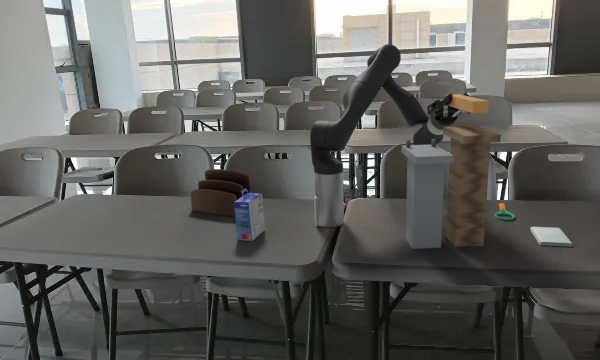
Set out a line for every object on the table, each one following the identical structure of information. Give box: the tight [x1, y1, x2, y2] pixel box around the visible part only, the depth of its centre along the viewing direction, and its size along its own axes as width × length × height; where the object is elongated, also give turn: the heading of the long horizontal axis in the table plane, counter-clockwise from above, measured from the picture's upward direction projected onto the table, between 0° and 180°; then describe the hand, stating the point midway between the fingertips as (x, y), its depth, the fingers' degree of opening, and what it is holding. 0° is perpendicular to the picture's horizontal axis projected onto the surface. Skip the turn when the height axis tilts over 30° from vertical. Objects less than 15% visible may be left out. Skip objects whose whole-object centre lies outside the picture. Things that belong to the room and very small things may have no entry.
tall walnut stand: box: [443, 125, 502, 248], centre depth 136 cm, size 10×16×32 cm, turn 2°
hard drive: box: [530, 226, 573, 248], centre depth 140 cm, size 2×8×12 cm
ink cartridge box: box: [234, 188, 266, 242], centre depth 148 cm, size 10×6×14 cm, turn 161°
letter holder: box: [190, 169, 252, 218], centre depth 174 cm, size 10×20×14 cm, turn 63°
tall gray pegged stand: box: [401, 139, 453, 250], centre depth 136 cm, size 10×16×29 cm, turn 2°
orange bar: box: [445, 93, 490, 114], centre depth 135 cm, size 4×22×3 cm, turn 2°
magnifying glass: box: [493, 202, 516, 222], centre depth 162 cm, size 15×6×2 cm, turn 162°
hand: (459, 96), depth 140 cm, fingers closed on orange bar, 4 cm apart
